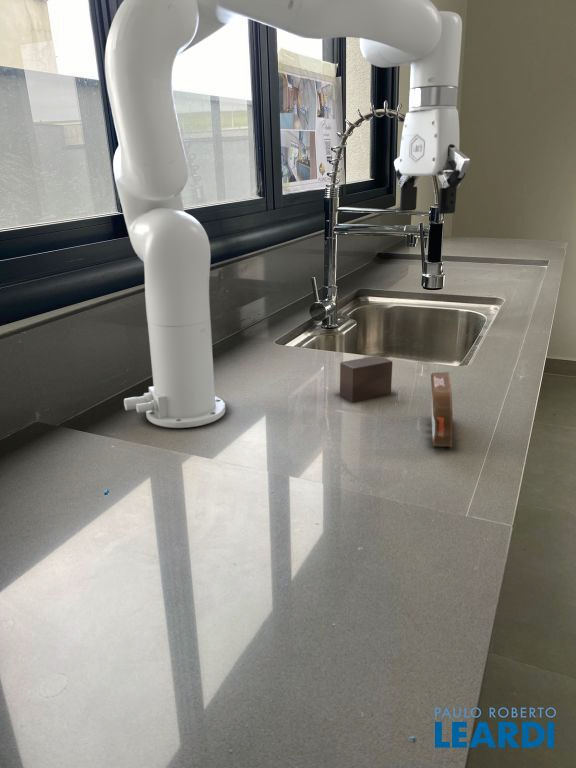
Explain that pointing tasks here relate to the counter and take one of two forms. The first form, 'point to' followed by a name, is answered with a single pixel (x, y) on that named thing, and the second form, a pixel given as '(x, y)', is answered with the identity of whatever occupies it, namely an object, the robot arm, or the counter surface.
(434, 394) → the tin
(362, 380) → the block
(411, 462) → the counter surface
